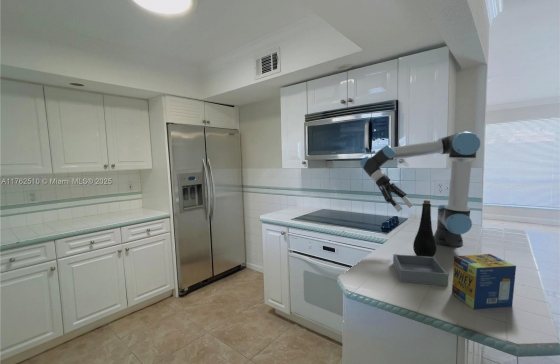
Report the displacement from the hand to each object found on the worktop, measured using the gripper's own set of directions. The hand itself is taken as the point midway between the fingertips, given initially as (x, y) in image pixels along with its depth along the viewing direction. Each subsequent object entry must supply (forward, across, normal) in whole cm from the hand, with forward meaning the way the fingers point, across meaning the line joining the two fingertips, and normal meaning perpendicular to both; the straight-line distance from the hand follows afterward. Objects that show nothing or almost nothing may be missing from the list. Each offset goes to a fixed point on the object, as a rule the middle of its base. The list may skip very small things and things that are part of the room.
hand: (406, 208), depth 140 cm
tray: (+28, +21, -6) cm, 36 cm away
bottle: (+25, 0, -10) cm, 27 cm away
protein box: (+45, +26, +10) cm, 53 cm away
